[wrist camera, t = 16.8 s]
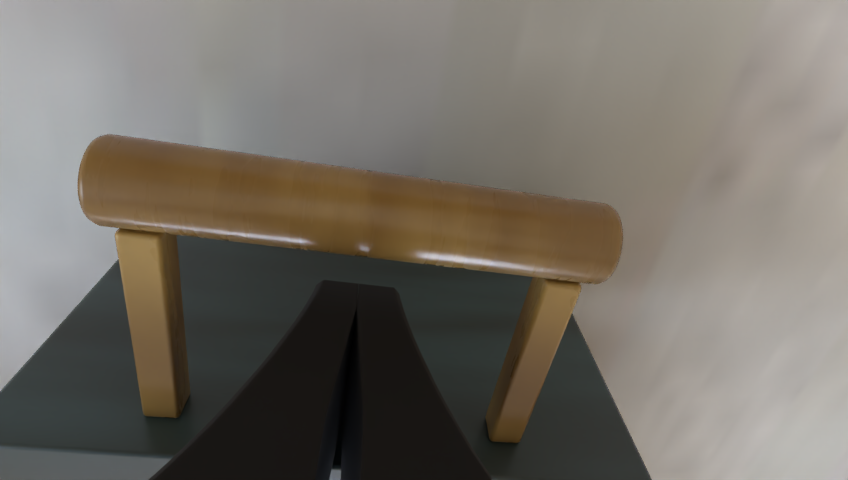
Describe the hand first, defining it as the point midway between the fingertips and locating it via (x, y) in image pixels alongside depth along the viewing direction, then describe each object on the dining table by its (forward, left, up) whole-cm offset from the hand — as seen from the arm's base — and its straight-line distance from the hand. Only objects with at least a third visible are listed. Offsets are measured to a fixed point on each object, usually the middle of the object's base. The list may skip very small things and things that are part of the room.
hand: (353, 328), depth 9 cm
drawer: (-5, -3, -5) cm, 8 cm away
